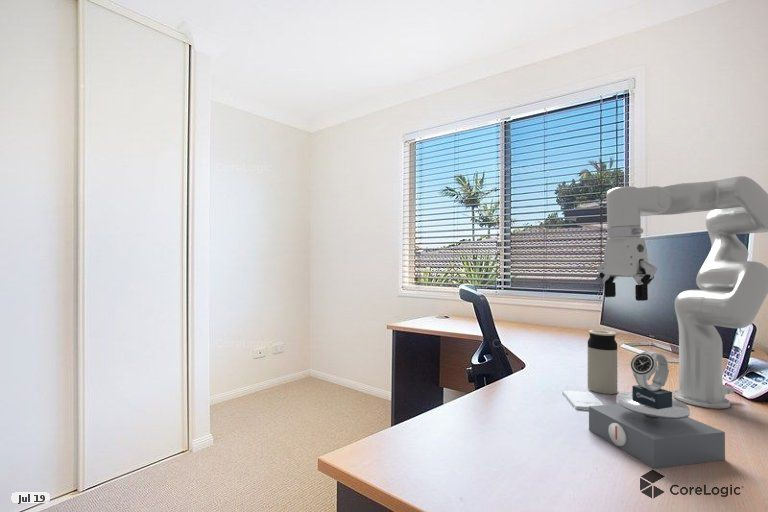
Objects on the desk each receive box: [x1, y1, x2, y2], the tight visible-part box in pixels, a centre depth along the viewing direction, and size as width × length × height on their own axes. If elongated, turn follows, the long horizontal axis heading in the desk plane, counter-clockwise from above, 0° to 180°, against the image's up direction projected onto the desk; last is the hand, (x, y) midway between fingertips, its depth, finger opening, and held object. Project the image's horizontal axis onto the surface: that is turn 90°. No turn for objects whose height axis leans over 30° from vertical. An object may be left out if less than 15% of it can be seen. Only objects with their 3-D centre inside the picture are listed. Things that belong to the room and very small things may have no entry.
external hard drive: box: [561, 390, 605, 411], centre depth 107 cm, size 2×8×12 cm
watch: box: [630, 350, 673, 409], centre depth 82 cm, size 6×8×11 cm
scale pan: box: [615, 391, 691, 419], centre depth 83 cm, size 13×13×3 cm
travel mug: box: [587, 329, 618, 395], centre depth 117 cm, size 8×8×18 cm
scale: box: [588, 403, 726, 469], centre depth 82 cm, size 18×17×6 cm
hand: (625, 298), depth 101 cm, fingers open, 9 cm apart
